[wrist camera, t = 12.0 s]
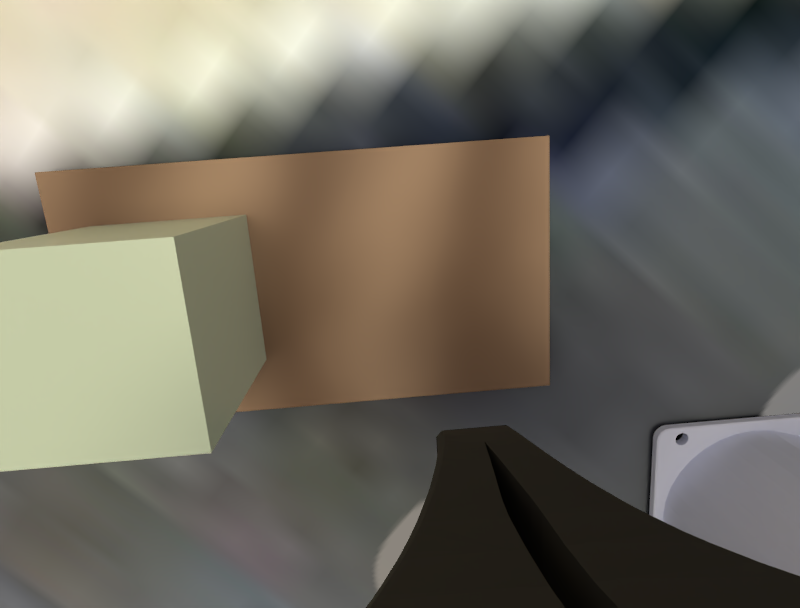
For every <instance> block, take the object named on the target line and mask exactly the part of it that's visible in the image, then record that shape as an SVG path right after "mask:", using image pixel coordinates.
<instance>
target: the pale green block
mask: <svg viewBox="0 0 800 608" xmlns="http://www.w3.org/2000/svg"><path fill="white" fill-rule="evenodd" d="M265 361H266V352H265V345H264V338H263V331H262V324H261V317H260V310H259V303H258V295H257V288H256V281H255V274H254V267H253V260H252V253H251V246H250V239H249V231H248V224H247V217H246V215H235V216H221V217H208V218H194V219H181V220H168V221H154V222H141V223H127V224H114V225H101V226H89V227H84V228H78V229H72V230H67V231H61V232H56V233H50V234H45V235H39V236H33V237H28V238H22V239H17V240H11V241H6V242H0V471H12V470H23V469H35V468H46V467H58V466H69V465H80V464H92V463H103V462H115V461H126V460H137V459H149V458H160V457H172V456H183V455H195V454H206V453H212V451H213V450H214V448H215V446H216V444H217V443H218V441H219V439H220V438H221V436H222V434H223V432H224V431H225V429H226V427H227V426H228V424H229V422H230V421H231V419H232V417H233V415H234V414H235V412H236V410H237V409H238V407H239V405H240V404H241V402H242V400H243V398H244V397H245V395H246V393H247V392H248V390H249V388H250V387H251V385H252V383H253V381H254V380H255V378H256V376H257V375H258V373H259V371H260V370H261V368H262V366H263V364H264V363H265Z"/></svg>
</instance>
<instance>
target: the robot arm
mask: <svg viewBox="0 0 800 608" xmlns="http://www.w3.org/2000/svg"><path fill="white" fill-rule="evenodd" d="M681 433H683V435H682V437H681V438H680V439H679V440H676V437H677V436H678V435H679V434H681ZM436 438H437V455H438V456H437V462H436V467H435V471H434V475H433V478H432V482H431V486H430V489H429V492H428V495H427V498H426V500H425V503H424V505H423V508H422V510H421V513H420V516H419V518H418V521H417V523H416V525H415V527H414V529H413V532H412V534H411V536H410V538H409V540H408V542H407V544H406V545H405V547H404V549H403V551H402V553H401V555H400V557H399V558H398V560H397V562H396V563H395V565H394V566H393V568H392V570H391V571H390V573H389V574H388V576H387V578H386V579H385V581H384V583H383V584H382V586H381V587H380V589H379V590H378V592H377V593H376V594H375V596H374V597H373V599H372V600H371V602H370V603H369V604H368V606H367V607H366V608H800V413H796V414H785V415H774V416H761V417H750V418H739V419H727V420H716V421H705V422H693V423H682V424H671V425H664V426H661V427H659V428H658V429H657V430H656V431H655V432H654V436H653V449H652V468H651V488H650V508H649V514H647V513H645V512H642V511H641V510H639V509H637V508H635V507H633V506H631V505H629V504H627V503H625V502H624V501H622V500H620V499H618V498H617V497H615V496H613V495H612V494H610V493H608V492H606V491H605V490H603V489H601V488H599V487H598V486H596V485H594V484H593V483H591V482H589V481H588V480H586V479H585V478H583V477H581V476H580V475H578V474H577V473H575V472H574V471H572V470H571V469H569V468H567V467H566V466H565V465H563V464H562V463H560V462H559V461H557V460H556V459H554V458H553V457H551V456H550V455H548V454H547V453H545V452H544V451H543V450H541V449H540V448H538V447H537V446H536V445H534V444H533V443H531V442H530V441H529V440H527V439H526V438H524V437H523V436H522V435H520V434H519V433H517V432H516V431H514V430H513V429H511V428H510V427H508V426H507V425H502V426H490V427H479V428H467V429H456V430H444V431H441V432H440V434H439V435H438V436H437V437H436Z"/></svg>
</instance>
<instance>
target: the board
mask: <svg viewBox="0 0 800 608" xmlns="http://www.w3.org/2000/svg"><path fill="white" fill-rule="evenodd" d="M35 176H36V180H37V185H38V189H39V193H40V197H41V202H42V206H43V210H44V215H45V219H46V223H47V228H48V232H49V234H50V233H56V232H61V231H67V230H72V229H78V228H84V227H89V226H101V225H114V224H127V223H141V222H154V221H168V220H181V219H194V218H208V217H221V216H235V215H246V217H247V224H248V231H249V239H250V246H251V253H252V260H253V267H254V274H255V281H256V288H257V295H258V303H259V310H260V317H261V324H262V331H263V338H264V345H265V352H266V361H265V363H264V364H263V366H262V368H261V370H260V371H259V373H258V375H257V376H256V378H255V380H254V381H253V383H252V385H251V387H250V388H249V390H248V392H247V393H246V395H245V397H244V398H243V400H242V402H241V404H240V405H239V407H238V409H237V410H236V412H242V411H253V410H265V409H277V408H288V407H300V406H312V405H323V404H335V403H347V402H359V401H370V400H382V399H394V398H405V397H417V396H429V395H440V394H452V393H464V392H476V391H487V390H499V389H511V388H522V387H534V386H546V385H550V222H549V136H539V137H525V138H511V139H497V140H483V141H469V142H455V143H441V144H427V145H413V146H399V147H385V148H371V149H357V150H343V151H329V152H316V153H302V154H288V155H274V156H260V157H246V158H232V159H218V160H204V161H190V162H176V163H162V164H148V165H134V166H120V167H106V168H92V169H78V170H64V171H50V172H36V173H35Z"/></svg>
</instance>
